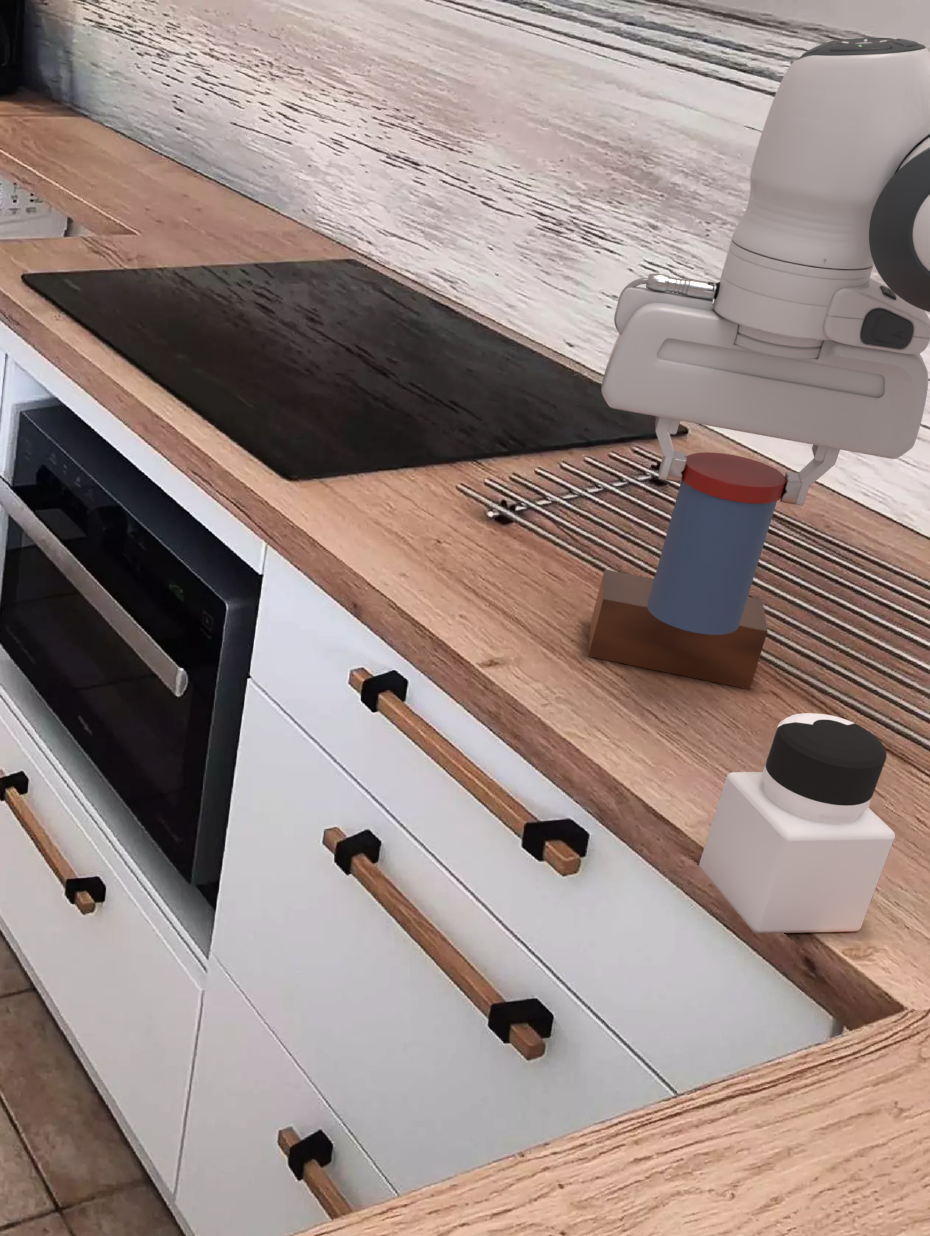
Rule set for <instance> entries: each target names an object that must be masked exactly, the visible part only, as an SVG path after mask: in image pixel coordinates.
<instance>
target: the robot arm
mask: <svg viewBox="0 0 930 1236" xmlns="http://www.w3.org/2000/svg"><path fill="white" fill-rule="evenodd" d="M749 174H750V175H749V181H750V182H749V185H750V187H749V197H748V201H747V205H746V209H745V211H744V213H743V215H742V217H741V218H740V220H739V222H738V223H737V225H736V227H735V228H734V231H733V232H732V235H731V239H730V242H729V247H728V250H727V254H726V257H725V260H724V265H723V268H722V271H721V275H720V277H719V278H720V279H719V281H718V282H715V281H714V282H713V281H706V280H701V279H694V278H693V279H691V278H678V277H672V276H670V275H668V274H664V273H649V274H648V276H647V277H641V278H637V279H635V280H634V279H633V280H632V281H631V282H629V283H628V284H627V285H625V287H624V288H623V289H622V290H621V292H620V294H619V295H618V299H617V305H616V307H615V312H614V319H613V322H614V326H615V329H616V331H617V333H618V335H617V338H616V340H615V343H614V345H613V346H612V347H613V348H612V350H611V351H610V355H609V358H608V361H607V364H606V367H605V370H604V373H603V377H602V382H601V387H600V391H601V395H602V398H603V399H604V401H605V403H606V404H607V405H608V407H609V408H611V409H615V410H618V411H619V410H620V411H626V412H631V413H637V414H642V415H647V416H653V417H656V418H655V421H654V424H655V425H654V426H655V429H654V430H655V434H656V437H657V441H658V444H659V448H660V450H661V453H662V456H661V457H662V458H661V461H660V465H659V468H658V469H659V470H658V480H662V481H667V482H674V483H680V484H681V480H682V476H683V475H682V471H683V470H684V469H685V465H686V462H687V458H686V457H687V452H685V451H678V450H675V447H674V443H673V441H672V437H671V435H676V434H677V433H678V431H679V430H678V429H679V426H680V422H687V423H692V424H697V425H703V426H708V427H713V428H719V429H725V430H730V431H735V432H736V431H737V432H741V433H747V434H753V435H758V436H762V437H769V438H773V439H774V438H775V439H780V440H784V441H785V440H786V441H790V442H791V441H792V442H797V443H802V444H808V445H811V451H812V455H813V458H812V459H811V461H809V462H808V463H807V464H806V465H805V466H804V467H803V468H802V469H800V471H798V472H792V471H787V470H786V472H785V473H784V476H785V479H786V484H785V487H784V491H783V494H782V497H781V498H780V499H779V502H780V503H784V504H790V505H794V506H799V507H803V506H804V504H805V502H806V499H807V496H808V492H809V489H810V487H811V485H813V484H814V483H816V481H818V480H819V479H820V478H821V477H823V476H824V475H825V474H826V473H827V472H829V470H831V469H832V468H833V467H834V466H835V465H836V462H837V459H838V457H839V454H840V450H841V451H845V452H846V451H847V452H851V453H858V454H863V455H867V456H875V457H880V458H885V459H890V460H897V459H899V458H900V457H902V456H904V455H905V454H907V453H908V452H909V451H910V450H912V449H913V447H914V446H915V444H916V442H917V441H916V440H917V438H918V435H919V431H920V428H921V425H922V421H923V416H924V412H925V407H926V402H927V395H928V390H929V373H928V369H927V366H926V363H925V361H924V359H923V357H922V355H921V353H923V352H924V351H925V350H926V349H927V348H928V347H929V344H930V317H929V315H928V314H927V312H928V313H930V50H929V49H928V47H927V46H926V45H924V44H921V43H919V42H917V41H915V40H910V39H904V38H891V37H860V38H859V37H857V38H845V39H841V40H831V41H827V42H824V43H821V44H819V45H816V46H814V47H812V48H810V49H809V50H807V51H805V52H804V53H802V54H801V55H800V56H798V58H795V60H793V62H792V63H791V64H790V65H789V66H788V68H787V70H786V71H785V73H784V75H783V77H782V79H781V82H780V84H779V85H778V88H777V90H776V93H775V95H774V97H773V100H772V102H771V105H770V108H769V110H768V113H767V116H766V119H765V122H764V125H763V128H762V131H761V133H760V137H759V141H758V142H757V147H756V150H755V154H754V157H753V161H752V163H751V168H750V173H749ZM874 267H875V269H876V271H877V273H878V275H879V276H880V278H881V279H882V281H883V282H884V283H885V284H883V283H881V282H880V281H877V280H875V279H873V278H871V275H872V272H873V268H874ZM641 285H645V287H642V286H641Z"/></svg>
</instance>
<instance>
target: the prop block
mask: <svg viewBox="0 0 930 1236" xmlns="http://www.w3.org/2000/svg"><path fill="white" fill-rule="evenodd" d="M653 581H654V578H651V577H647V576H641V575H636V574H633V573H632V574H631V573H626V572H621V571H616V570H611V569H604V570H603V573H602V577H601V581H600V585H599V589H598V593H597V596H596V601H595V604H594V608H593V612H592V616H591V620H590V624H589V634H588V637H589V638H588V655H587V656H588V657H590V658H595V659H599V660H604V661H608V662H609V661H610V662H615V663H619V664H624V665H630V666H633V667H639V668H643V669H648V670H654V671H658V672H663V673H668V674H672V675H677V676H682V677H688V678H693V679H697V680H702V681H706V682H712V683H717V684H722V685H727V686H732V687H735V688H740V689H741V688H742V689H746V690H750V689H751V686H752V683H753V680H754V676H755V673H756V671H757V667H758V663H759V662H760V661H759V660H760V658H761V654H762V651H763V648H764V645H765V642H766V638H767V635H768V632H769V631H768V624H767V619H766V611H765V605H764V600H763V599H759V598H755V597H750V596H748V598H747V601H746V604H745V608H744V611H743V614H742V618H741V621H740V624H739V627H738V629H737V630H736V631H734V632H732V633H729V634H723V635H708V634H700V633H694V632H690V631H686V630H682V629H679V628H676V627H673V626H671V625H669V624H666V623H664V622H662V621H660V620H659V619H657V618H656V617H654V616H653V615H652V614H651V613H650V612H649V610H648V608H647V603H648V599H649V596H650V592H651V588H652V585H653Z"/></svg>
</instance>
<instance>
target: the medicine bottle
mask: <svg viewBox="0 0 930 1236" xmlns="http://www.w3.org/2000/svg"><path fill="white" fill-rule="evenodd" d="M887 754H888V753H887V751H886V749H885V747H884V744H883V743H882V741H881V740H880V739H879V738H878V737H877V736H876V735H875V734H873V733H872V732H871V731H870V730H868V729H866V728H864V727H863V726H861V725H859V724H857V723H855V722H853V721H851V720H849V719H845V718H843V717H840V716H836V715H831V714H826V713H813V712H802V713H801V712H800V713H795V714H792V715H789V716H787V717H786V718H784V719H782V720H781V721H780V722H779V723H778V725H777V727H776V730H775V733H774V737H773V739H772V743H771V746H770V748H769V751H768V755H767V758H766V760H765V764H764V767H763V769H762V771H732V772H729V773H728V774H727V776H726V778H725V781H724V784H723V787H722V791H721V793H720V797H719V799H718V800H719V801H718V803H717V805H716V810H715V813H714V816H713V818H712V822H711V825H710V828H709V830H708V835H707V838H706V841H705V844H704V847H703V851H702V852H701V857H700V860H699V863H698V866H699V869H700V870H701V871H702V873H703V874H704V876H706V877H707V878H708V880H709V881H710V882H711V884H713V886H714V887H715V888H716V889H717V890H718V892H719V893H720V894H721V895H722V897H723V898H724V899H725V900H726V901H727V903H728V904H729V905H730V906H731V907H732V908H733V910H734V911H735V912H736V913H737V914H738V916H739V917H740V918H741V919H742V920H743V921H744V923H745V924H746V925H747V926H748V927H749V929H750V930H751V931H752V932H753V933H754V934H757V935H759V934H795V933H796V934H797V933H798V934H799V933H800V934H801V933H838V932H842V933H843V932H858V931H860V929H861V928H862V926H863V924H864V921H865V919H866V916H867V913H868V911H869V908H870V905H871V903H872V900H873V896H874V894H875V892H876V889H877V887H878V884H879V881H880V879H881V876H882V874H883V871H884V868H885V865H886V863H887V860H888V857H889V855H890V852H891V850H892V847H893V844H894V841H895V839H896V833H895V832H894V831H893V829H892V828H890V826H888V825H887V824H886V823H885V822H884V820H883V819H881V818H880V817H879V816H878V815H877V814H876V813H875V812H873V810H872V809H871V808H870V804H871V802H872V799H873V796H874V793H875V790H876V787H877V785H878V782H879V780H880V778H881V775H882V772H883V768H884V766H885V764H886V761H887V758H888V756H887Z"/></svg>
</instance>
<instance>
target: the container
mask: <svg viewBox="0 0 930 1236" xmlns="http://www.w3.org/2000/svg"><path fill="white" fill-rule="evenodd" d="M686 458H687V462H686V465H685V469H684V470H683V471H682V475H683V476H682V479H681V482H680V484H679V488H678V491H677V495H676V498H675V502H674V506H673V510H672V513H671V517H670V521H669V524H668V527H667V531H666V535H665V538H664V541H663V545H662V549H661V553H660V556H659V560H658V564H657V568H656V569H655V574H654V578H653V579H654V581H653V585H652V588H651V592H650V596H649V599H648V603H647V608H648V610H649V612H650V613H651V614H652V615H653V616H654V617H656V618H657V619H659V620H660V621H662V622H664V623H666V624H669V625H671V626H673V627H676V628H679V629H682V630H686V631H690V632H694V633H700V634H708V635H723V634H729V633H732V632H734V631H736V630H737V629H738V627H739V624H740V621H741V618H742V614H743V611H744V608H745V604H746V601H747V598H748V597H749V595H750V591H751V588H752V584H753V581H754V578H755V575H756V571H757V569H758V565H759V562H760V559H761V556H762V552H763V548H764V545H765V542H766V539H767V535H768V531H769V529H770V526H771V522H772V519H773V516H774V512H775V509H776V505H777V503H778V501H780V498H781V497H782V494H783V491H784V487H785V484H786V479H785V474H783V473H782V472H781V471H780V470H778V469H777V468H774V467H773V466H771V465H768V464H765V463H763V462H761V461H758V460H755V459H752V458H749V457H744V456H739V455H735V454H730V453H723V452H711V451H709V452H707V451H706V452H695V453H690V454H688V455H686Z"/></svg>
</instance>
